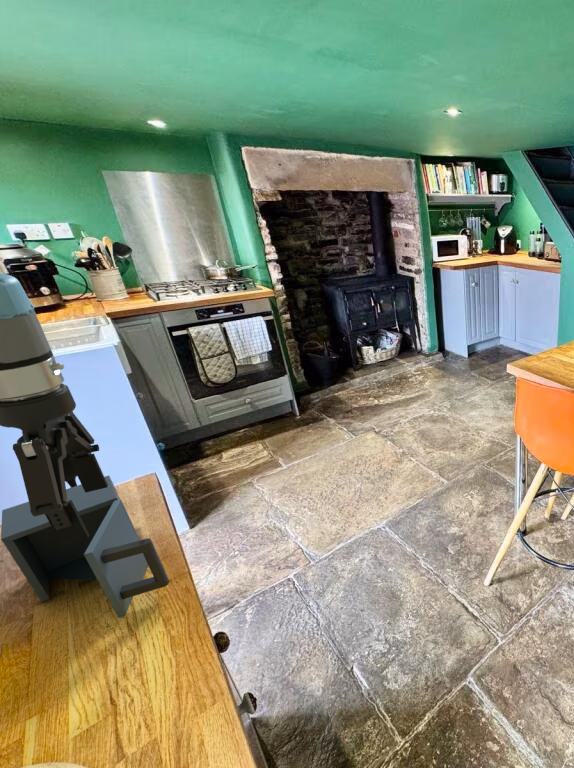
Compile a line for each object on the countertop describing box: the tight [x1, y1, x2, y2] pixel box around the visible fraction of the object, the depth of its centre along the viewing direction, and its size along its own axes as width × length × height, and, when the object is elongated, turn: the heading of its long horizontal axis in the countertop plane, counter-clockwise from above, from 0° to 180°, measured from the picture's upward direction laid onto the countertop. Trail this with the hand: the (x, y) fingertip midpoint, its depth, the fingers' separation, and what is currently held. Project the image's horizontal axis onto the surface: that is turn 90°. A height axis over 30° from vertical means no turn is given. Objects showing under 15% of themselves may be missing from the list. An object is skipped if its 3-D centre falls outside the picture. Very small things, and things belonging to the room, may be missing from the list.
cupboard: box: [0, 475, 121, 603], centre depth 76 cm, size 10×14×16 cm
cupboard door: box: [84, 499, 171, 618], centre depth 73 cm, size 7×14×16 cm, turn 28°
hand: (87, 512), depth 63 cm, fingers open, 13 cm apart
